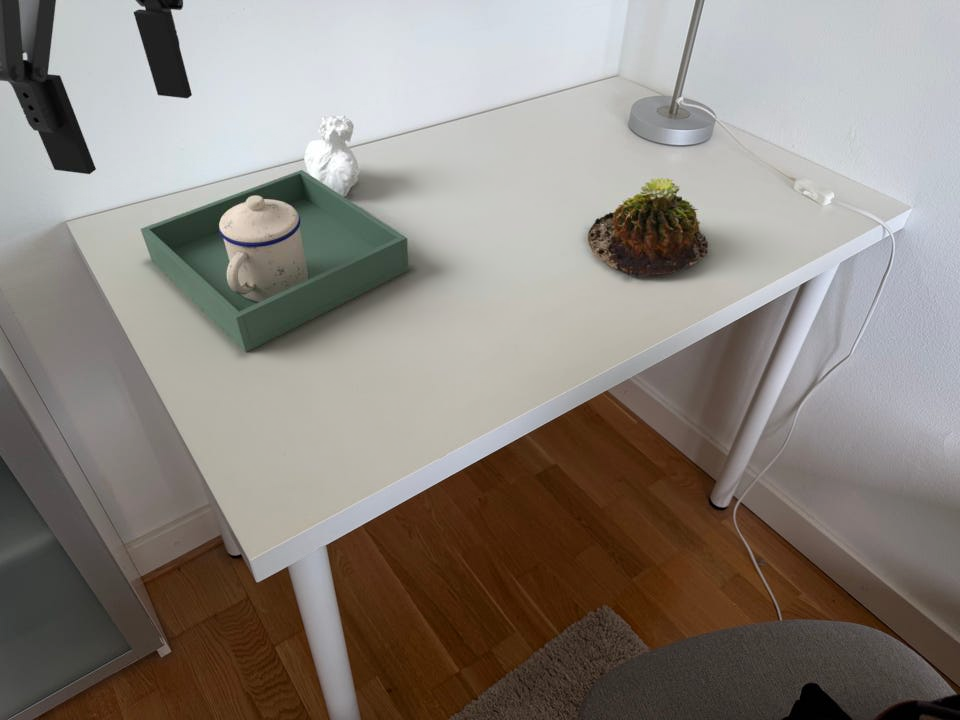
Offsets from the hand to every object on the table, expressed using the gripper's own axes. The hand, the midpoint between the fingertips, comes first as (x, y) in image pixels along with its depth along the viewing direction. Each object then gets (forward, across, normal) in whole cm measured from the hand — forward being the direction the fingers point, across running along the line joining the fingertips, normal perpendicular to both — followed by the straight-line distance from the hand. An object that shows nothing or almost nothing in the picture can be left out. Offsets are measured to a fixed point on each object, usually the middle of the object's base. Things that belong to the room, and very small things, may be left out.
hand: (130, 129), depth 53 cm
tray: (+29, -23, -2) cm, 37 cm away
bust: (+29, -45, -3) cm, 53 cm away
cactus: (+29, -39, +44) cm, 65 cm away
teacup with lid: (+28, -16, -1) cm, 32 cm away
